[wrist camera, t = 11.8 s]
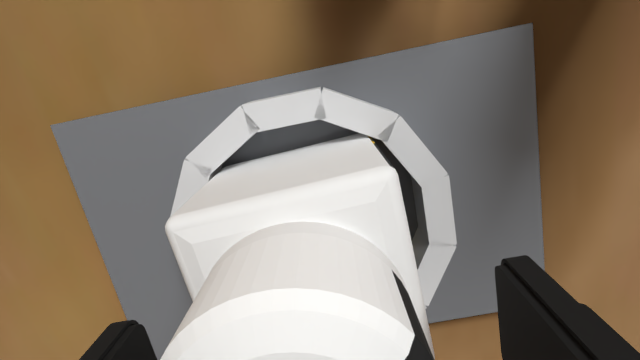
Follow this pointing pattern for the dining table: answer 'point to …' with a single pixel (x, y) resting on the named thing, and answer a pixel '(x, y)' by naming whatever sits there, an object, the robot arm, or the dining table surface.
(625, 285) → the dining table surface
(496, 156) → the ring holder
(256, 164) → the medicine bottle
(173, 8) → the dining table surface
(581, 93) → the dining table surface
